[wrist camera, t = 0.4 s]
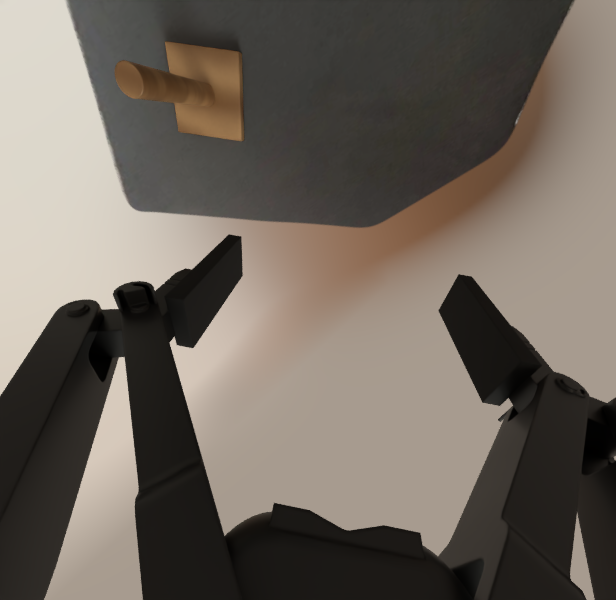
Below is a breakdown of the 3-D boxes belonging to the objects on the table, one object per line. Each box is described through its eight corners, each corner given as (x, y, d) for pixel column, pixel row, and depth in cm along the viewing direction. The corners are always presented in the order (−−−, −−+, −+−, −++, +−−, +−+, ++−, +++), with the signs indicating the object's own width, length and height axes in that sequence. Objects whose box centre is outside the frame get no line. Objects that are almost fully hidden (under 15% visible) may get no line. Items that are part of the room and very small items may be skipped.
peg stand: (170, 43, 31) (51, -10, 18) (242, 53, 30) (170, 6, 18) (183, 131, 36) (97, 136, 24) (244, 140, 36) (190, 150, 23)
